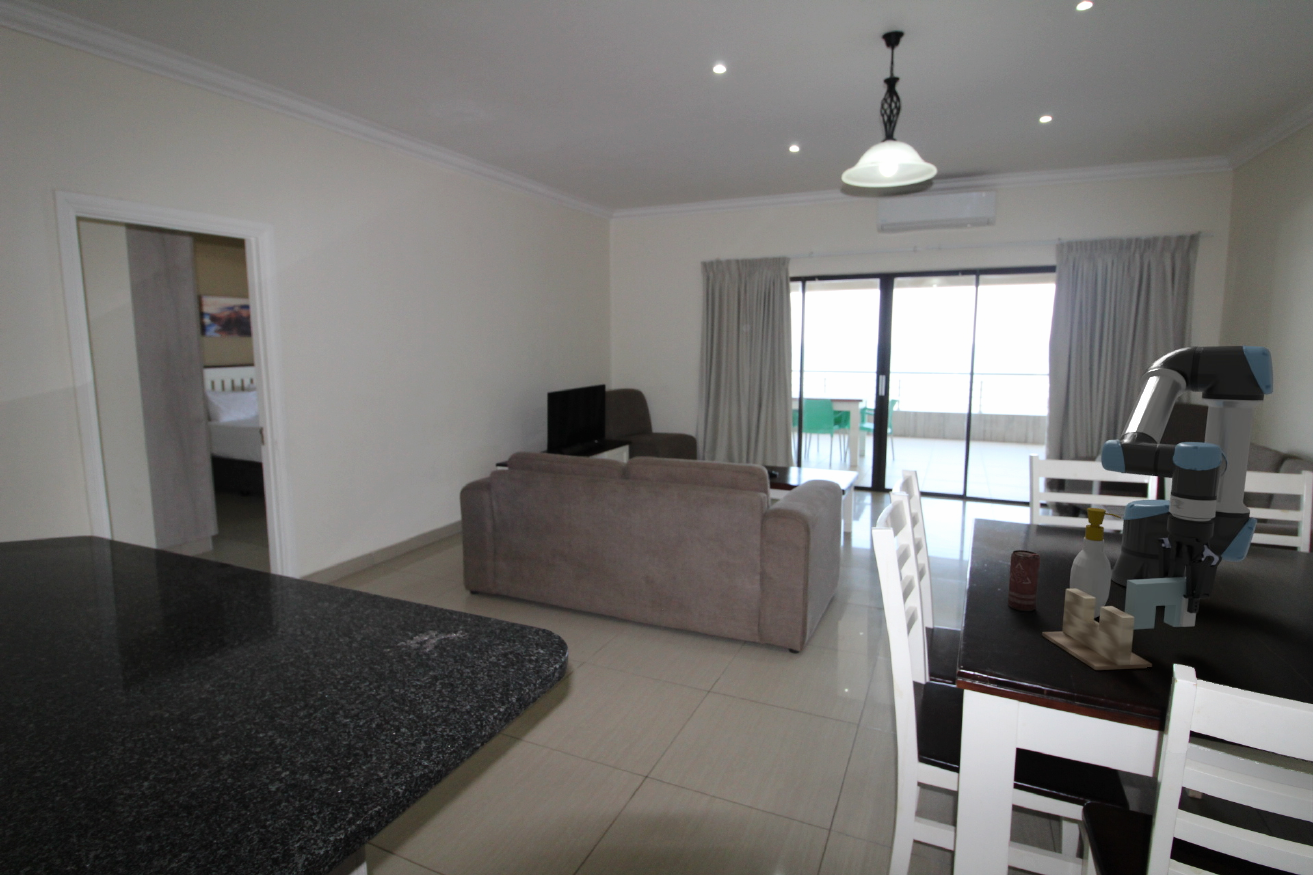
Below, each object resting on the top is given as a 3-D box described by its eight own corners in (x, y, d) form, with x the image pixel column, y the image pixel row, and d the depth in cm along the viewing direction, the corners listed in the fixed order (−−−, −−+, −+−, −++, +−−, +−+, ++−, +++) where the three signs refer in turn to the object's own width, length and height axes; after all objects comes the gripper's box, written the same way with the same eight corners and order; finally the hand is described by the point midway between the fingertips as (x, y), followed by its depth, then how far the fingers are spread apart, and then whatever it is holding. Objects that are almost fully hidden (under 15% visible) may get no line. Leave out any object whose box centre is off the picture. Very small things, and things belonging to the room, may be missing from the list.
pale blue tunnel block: (1184, 620, 139) (1188, 576, 138) (1194, 625, 137) (1199, 580, 136) (1123, 624, 138) (1127, 580, 137) (1132, 629, 136) (1136, 584, 135)
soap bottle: (1109, 627, 148) (1119, 517, 145) (1063, 617, 154) (1072, 511, 151) (1114, 608, 159) (1124, 506, 156) (1072, 600, 165) (1080, 501, 162)
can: (1040, 612, 157) (1044, 557, 155) (1012, 610, 158) (1016, 555, 157) (1031, 603, 163) (1035, 550, 161) (1004, 601, 164) (1007, 548, 162)
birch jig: (1042, 635, 144) (1045, 589, 143) (1092, 633, 145) (1096, 587, 144) (1095, 669, 129) (1100, 618, 127) (1151, 667, 130) (1156, 616, 128)
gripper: (1143, 507, 142) (1134, 608, 145) (1208, 527, 127) (1196, 639, 130) (1175, 506, 143) (1165, 606, 146) (1244, 525, 127) (1231, 637, 131)
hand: (1180, 622), depth 138 cm, fingers closed on pale blue tunnel block, 2 cm apart
